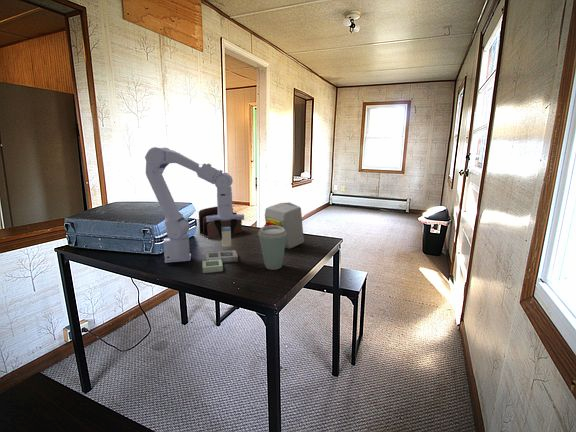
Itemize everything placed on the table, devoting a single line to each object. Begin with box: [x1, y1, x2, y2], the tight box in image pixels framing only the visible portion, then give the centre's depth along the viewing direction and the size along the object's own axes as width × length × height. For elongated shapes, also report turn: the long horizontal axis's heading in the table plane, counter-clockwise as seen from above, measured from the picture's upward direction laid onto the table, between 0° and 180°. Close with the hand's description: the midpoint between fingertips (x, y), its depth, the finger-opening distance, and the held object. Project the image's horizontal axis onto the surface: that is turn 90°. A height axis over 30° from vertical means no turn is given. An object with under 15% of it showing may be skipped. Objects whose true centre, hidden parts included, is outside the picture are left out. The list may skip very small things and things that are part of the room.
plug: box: [221, 227, 232, 248], centre depth 118 cm, size 4×4×7 cm
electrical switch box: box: [263, 202, 305, 250], centre depth 137 cm, size 14×15×20 cm
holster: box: [201, 259, 224, 274], centre depth 110 cm, size 7×7×2 cm
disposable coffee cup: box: [257, 225, 287, 270], centre depth 111 cm, size 11×11×15 cm
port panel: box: [205, 249, 239, 264], centre depth 120 cm, size 12×8×2 cm, turn 106°
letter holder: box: [198, 206, 243, 240], centre depth 156 cm, size 10×20×14 cm, turn 131°
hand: (226, 238), depth 119 cm, fingers closed on plug, 3 cm apart
